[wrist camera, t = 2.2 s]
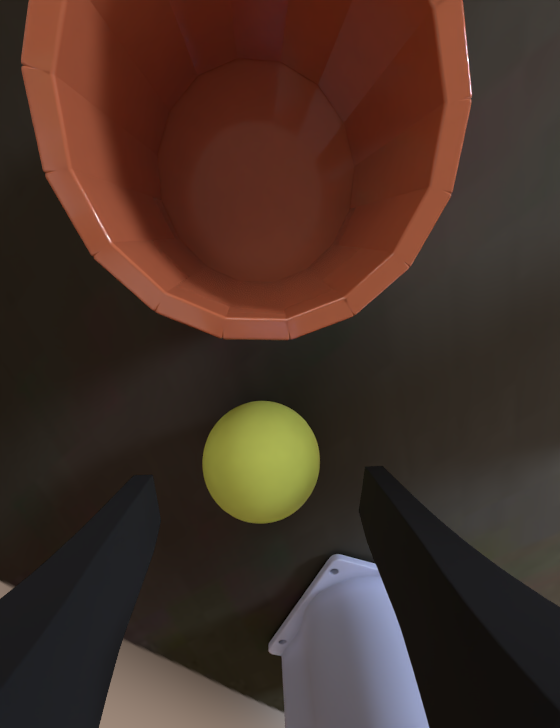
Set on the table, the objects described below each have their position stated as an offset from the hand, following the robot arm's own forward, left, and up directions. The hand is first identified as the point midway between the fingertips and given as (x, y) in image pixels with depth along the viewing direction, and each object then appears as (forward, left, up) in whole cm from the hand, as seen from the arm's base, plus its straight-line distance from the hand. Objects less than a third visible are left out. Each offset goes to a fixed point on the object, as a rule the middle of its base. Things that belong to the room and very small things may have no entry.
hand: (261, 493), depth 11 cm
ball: (0, 0, -2) cm, 2 cm away
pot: (+9, +4, -4) cm, 11 cm away
